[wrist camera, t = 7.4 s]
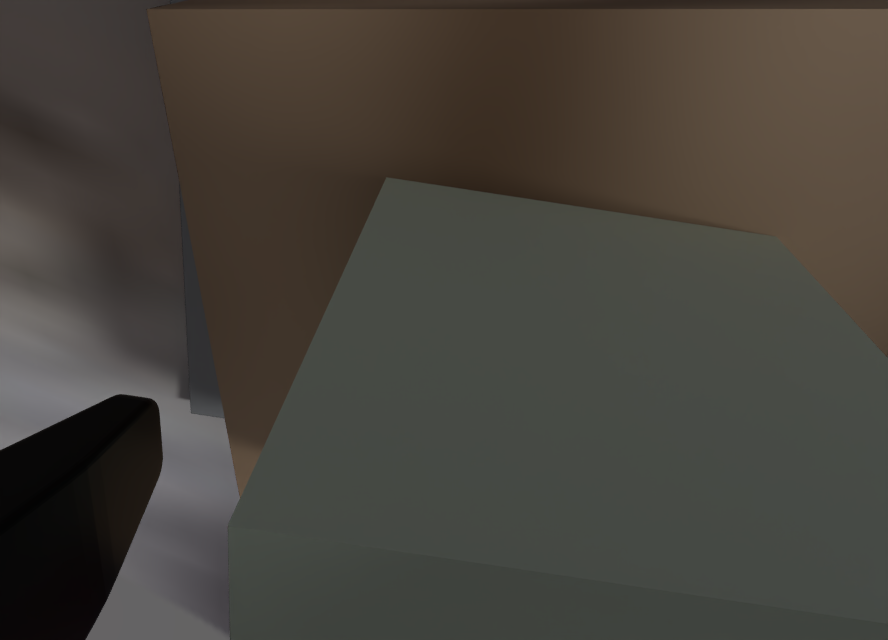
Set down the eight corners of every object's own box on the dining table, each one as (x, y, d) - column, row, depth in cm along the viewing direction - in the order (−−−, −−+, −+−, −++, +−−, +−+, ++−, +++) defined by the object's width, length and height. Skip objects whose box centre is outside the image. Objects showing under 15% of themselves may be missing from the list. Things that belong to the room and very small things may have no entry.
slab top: (900, -8, 10) (1007, 9, 8) (755, 514, 14) (799, 611, 12) (216, -6, 10) (146, 9, 8) (289, 494, 15) (256, 583, 13)
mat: (997, -2, 12) (1012, 0, 12) (766, 488, 17) (771, 500, 17) (173, -128, 12) (163, -130, 11) (197, 403, 17) (191, 413, 17)
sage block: (775, 236, 9) (1167, 663, 4) (664, 522, 11) (806, 1026, 6) (387, 177, 9) (226, 525, 4) (357, 477, 11) (235, 945, 6)
